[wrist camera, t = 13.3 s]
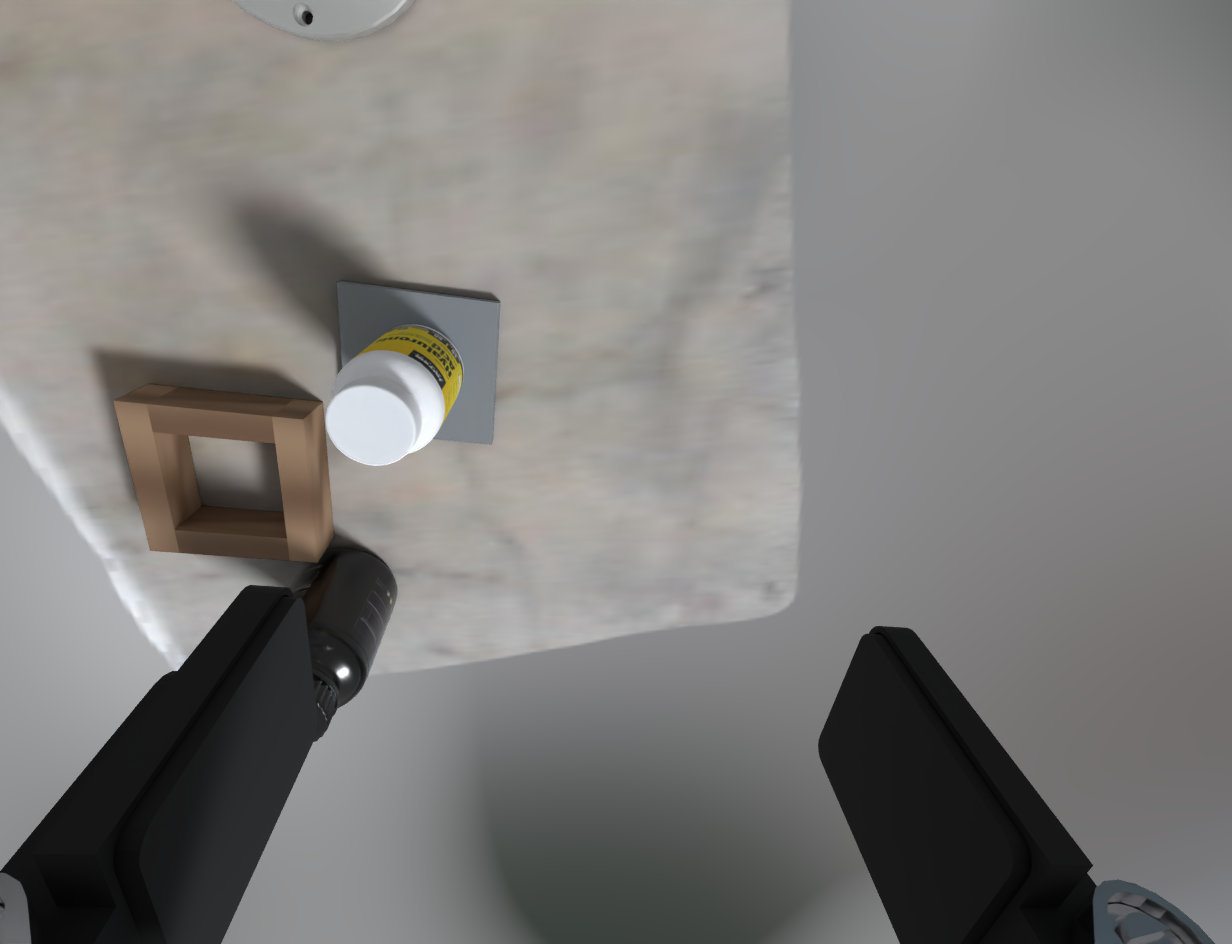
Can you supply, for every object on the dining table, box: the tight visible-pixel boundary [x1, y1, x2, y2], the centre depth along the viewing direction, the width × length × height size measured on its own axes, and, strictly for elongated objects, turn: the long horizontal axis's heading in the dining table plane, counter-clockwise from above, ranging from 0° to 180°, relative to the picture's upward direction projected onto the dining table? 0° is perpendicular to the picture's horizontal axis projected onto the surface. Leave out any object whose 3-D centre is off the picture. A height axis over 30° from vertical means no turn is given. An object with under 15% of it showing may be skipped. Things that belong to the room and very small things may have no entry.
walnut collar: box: [113, 384, 334, 563], centre depth 37 cm, size 10×10×3 cm
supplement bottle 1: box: [325, 324, 464, 466], centre depth 31 cm, size 5×5×10 cm
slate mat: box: [337, 281, 500, 445], centre depth 36 cm, size 9×9×1 cm
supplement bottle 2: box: [290, 549, 397, 742], centre depth 37 cm, size 7×7×12 cm
